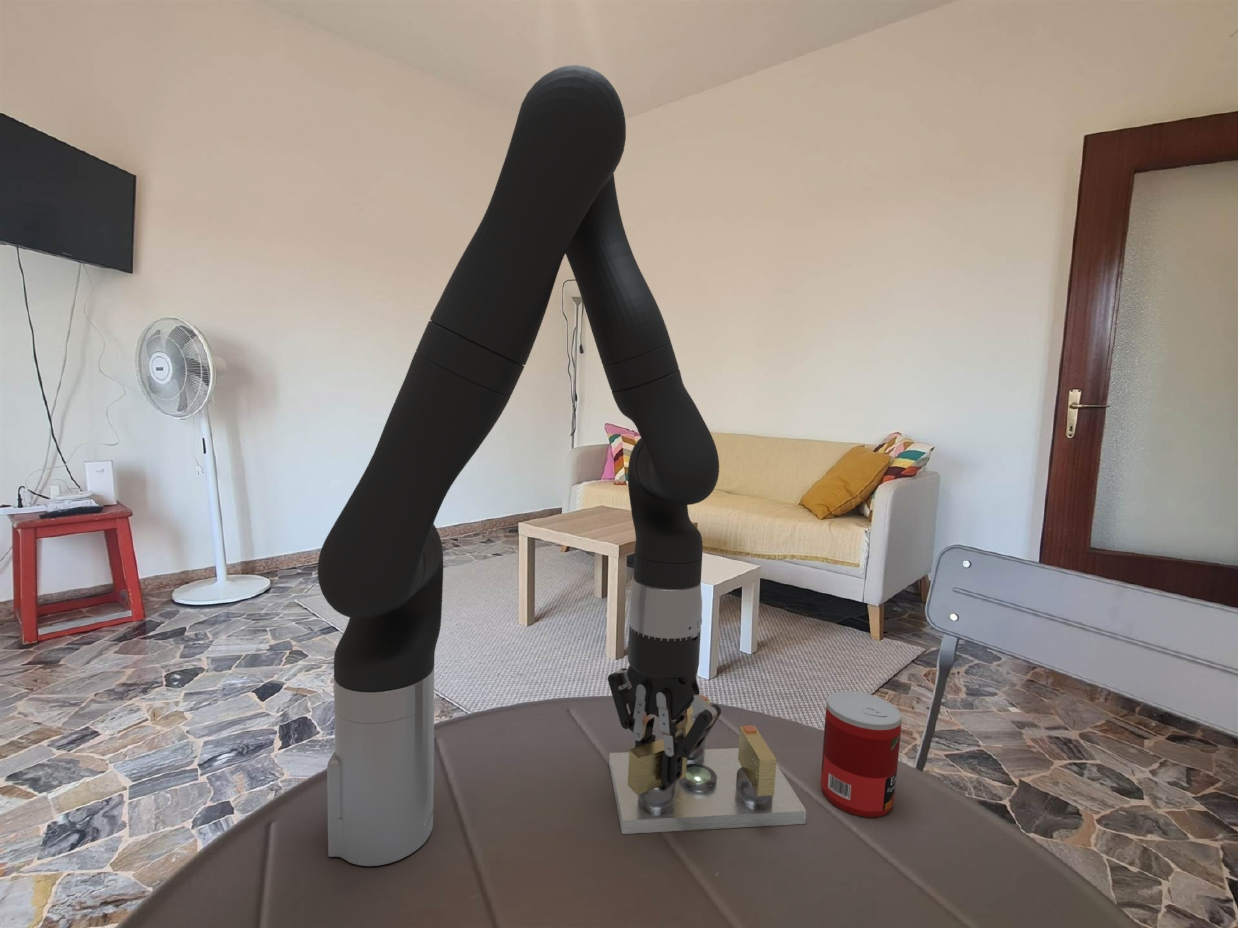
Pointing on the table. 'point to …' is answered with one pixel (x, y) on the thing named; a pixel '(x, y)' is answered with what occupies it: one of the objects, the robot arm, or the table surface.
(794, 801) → the level plate
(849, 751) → the canned food
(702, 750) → the yellow paddle knob
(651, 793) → the knob
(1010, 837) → the table surface
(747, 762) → the knob
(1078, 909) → the table surface
